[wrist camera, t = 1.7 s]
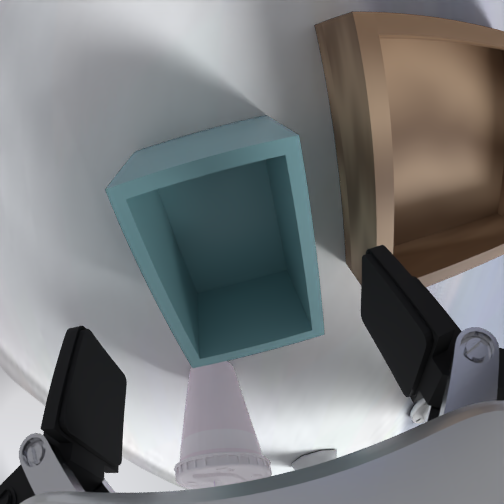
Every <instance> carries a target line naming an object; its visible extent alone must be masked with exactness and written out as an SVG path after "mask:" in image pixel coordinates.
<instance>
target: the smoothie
mask: <svg viewBox="0 0 504 504" xmlns="http://www.w3.org/2000/svg"><path fill="white" fill-rule="evenodd" d="M270 464H271V462H270V460H269V459H268V458H266V457H265V456H263V454H262V451H261V448H260V445H259V442H258V439H257V436H256V434H255V431H254V428H253V425H252V422H251V419H250V416H249V413H248V410H247V407H246V404H245V401H244V398H243V395H242V392H241V388H240V385H239V382H238V379H237V376H236V373H235V370H234V367H233V365H232V364H231V363H229V362H228V361H224V362H219V363H215V364H210V365H206V366H201V367H196V368H192V367H191V369H190V373H189V381H188V389H187V397H186V405H185V414H184V423H183V432H182V442H181V451H180V462H179V463H177V464H176V466H175V468H174V470H175V475H176V482H177V483H178V484H179V485H181V486H182V487H185V488H187V489H200V488H208V487H216V486H223V485H229V484H235V483H241V482H246V481H252V480H257V479H261V478H266V477H271V475H272V472H271V468H270Z"/></svg>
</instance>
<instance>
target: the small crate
mask: <svg viewBox="0 0 504 504" xmlns="http://www.w3.org/2000/svg"><path fill="white" fill-rule="evenodd" d="M105 190H106V193H107V195H108V198H109V200H110V203H111V205H112V208H113V210H114V212H115V215H116V217H117V219H118V222H119V224H120V226H121V229H122V231H123V233H124V236H125V238H126V240H127V242H128V245H129V247H130V249H131V251H132V253H133V256H134V258H135V260H136V262H137V264H138V266H139V268H140V270H141V272H142V275H143V277H144V279H145V281H146V283H147V285H148V287H149V289H150V291H151V293H152V295H153V297H154V299H155V301H156V303H157V305H158V307H159V309H160V310H161V312H162V314H163V316H164V318H165V320H166V322H167V324H168V326H169V327H170V329H171V331H172V333H173V335H174V337H175V338H176V340H177V342H178V344H179V346H180V347H181V349H182V351H183V353H184V354H185V356H186V358H187V360H188V361H189V363H190V365H191V367H192V368H196V367H201V366H206V365H210V364H215V363H219V362H224V361H228V360H232V359H237V358H241V357H245V356H249V355H253V354H257V353H261V352H265V351H268V350H272V349H276V348H280V347H283V346H287V345H290V344H294V343H297V342H301V341H304V340H308V339H311V338H314V337H318V336H321V335H324V322H323V311H322V301H321V291H320V281H319V272H318V263H317V254H316V246H315V238H314V230H313V223H312V215H311V208H310V201H309V194H308V187H307V181H306V174H305V168H304V162H303V156H302V150H301V144H300V138H299V135H298V134H296V133H295V132H293V131H292V130H290V129H288V128H287V127H285V126H283V125H282V124H280V123H279V122H277V121H275V120H274V119H272V118H270V117H268V116H267V115H265V116H260V117H256V118H251V119H247V120H243V121H238V122H234V123H230V124H226V125H222V126H218V127H215V128H211V129H207V130H203V131H200V132H196V133H193V134H189V135H186V136H182V137H179V138H176V139H172V140H169V141H166V142H163V143H160V144H157V145H154V146H150V147H147V148H144V149H142V150H139V151H136V152H134V154H133V155H132V156H131V157H130V159H129V160H128V161H127V162H126V163H125V165H124V166H123V167H122V168H121V170H120V171H119V172H118V174H117V175H116V176H115V177H114V179H113V180H112V181H111V183H110V184H109V185H108V187H107V188H106V189H105Z"/></svg>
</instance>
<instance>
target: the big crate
mask: <svg viewBox="0 0 504 504" xmlns="http://www.w3.org/2000/svg"><path fill="white" fill-rule="evenodd" d="M315 29H316V34H317V38H318V43H319V48H320V53H321V58H322V63H323V68H324V74H325V79H326V85H327V91H328V97H329V103H330V109H331V116H332V122H333V129H334V137H335V144H336V152H337V160H338V169H339V178H340V188H341V199H342V210H343V223H344V237H345V254H346V264H347V265H348V267H349V268H350V270H351V271H352V273H353V274H354V276H355V277H356V278H357V280H358V281H359V283H360V284H361V286H362V256H363V255H366V251H367V249H370V248H373V247H377V246H380V245H384V246H385V247H386V248H387V249H388V250H389V251H390V252H391V253H392V254H393V255H394V256H395V257H396V259H397V260H398V261H399V262H400V263H401V264H402V265H403V266H404V268H405V269H406V270H407V271H408V272H409V273H410V274H411V276H415V277H417V278H418V279H419V280H420V281H421V283H422V284H423V285H424V286H425V287H428V286H430V285H433V284H435V283H438V282H440V281H443V280H445V279H448V278H450V277H453V276H455V275H458V274H460V273H462V272H465V271H467V270H470V269H472V268H474V267H477V266H479V265H481V264H483V263H486V262H488V261H490V260H492V259H495V258H497V257H499V256H501V255H503V254H504V31H501V30H497V29H493V28H489V27H485V26H480V25H476V24H471V23H466V22H461V21H456V20H450V19H444V18H437V17H430V16H421V15H412V14H401V13H385V12H350V13H347V14H344V15H341V16H338V17H335V18H332V19H330V20H327V21H324V22H322V23H319V24H316V25H315Z"/></svg>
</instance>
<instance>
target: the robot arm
mask: <svg viewBox="0 0 504 504" xmlns="http://www.w3.org/2000/svg"><path fill="white" fill-rule="evenodd" d="M361 317H362V320H363V323H364V324H365V326H366V328H367V330H368V331H369V333H370V335H371V336H372V338H373V340H374V342H375V343H376V345H377V347H378V349H379V350H380V352H381V354H382V356H383V357H384V359H385V361H386V363H387V365H388V366H389V368H390V370H391V372H392V374H393V375H394V377H395V379H396V381H397V383H398V384H399V386H400V388H401V390H402V392H403V394H404V395H405V396H406V397H409V396H410V397H411V399H412V401H413V403H415V402H417V401H418V402H417V403H416V404H415V405H414V407H413V408H412V410H411V413H410V417H411V419H412V421H413V422H414V423H423V424H421V425H419V426H417V427H415V428H412V429H410V430H408V431H406V432H404V433H401V434H399V435H397V436H394V437H392V438H389V439H387V440H384V441H382V442H379V443H377V444H374V445H372V446H369V447H367V448H364V449H361V450H359V451H356V452H353V453H350V454H348V455H345V456H342V457H339V458H336V459H333V460H330V461H326V462H323V463H320V464H317V465H313V466H310V467H306V468H303V469H299V470H295V471H291V472H287V473H283V474H279V475H275V476H271V477H266V478H261V479H257V480H252V481H246V482H241V483H235V484H229V485H223V486H216V487H208V488H200V489H191V490H180V491H168V492H147V493H115V491H114V490H113V489H112V488H111V486H110V485H109V484H108V482H107V481H106V480H105V478H104V472H105V473H118V465H120V464H121V461H122V440H123V422H124V408H125V396H126V385H127V382H126V377H125V375H124V374H123V372H122V371H121V370H120V369H119V367H118V366H117V365H116V364H115V362H114V361H113V360H112V359H111V357H110V356H109V355H108V353H107V352H106V351H105V350H104V348H103V347H102V346H101V344H100V343H99V342H98V340H97V339H96V338H95V336H94V335H93V333H92V332H91V331H90V330H89V329H86V328H85V327H84V326H79V327H74V328H70V329H68V330H67V332H66V334H65V337H64V341H63V344H62V347H61V350H60V354H59V357H58V360H57V364H56V367H55V371H54V374H53V378H52V382H51V386H50V390H49V394H48V398H47V402H46V406H45V411H44V415H43V420H42V425H41V429H42V430H43V431H44V434H43V435H41V434H38V433H35V434H31V435H29V436H28V437H27V438H26V439H25V440H24V441H23V443H22V445H21V447H20V451H19V459H20V463H21V465H20V466H19V467H18V468H17V469H16V470H15V471H14V472H13V473H12V474H11V475H10V476H9V477H8V478H7V479H6V480H5V481H4V482H3V483H2V484H1V485H0V504H504V349H502V348H499V345H498V342H497V340H496V338H495V337H494V336H493V335H492V334H491V333H490V332H489V331H487V330H485V329H482V328H479V327H471V328H468V329H465V330H464V331H461V330H460V329H459V327H458V326H457V325H456V324H455V322H454V321H453V320H452V319H451V317H450V316H449V315H448V314H447V312H446V311H445V310H444V309H443V307H442V306H441V305H440V304H439V303H438V301H437V300H436V299H435V298H434V297H433V295H432V294H431V293H430V292H429V291H428V290H427V288H426V287H425V286H424V285H423V284H422V283H421V281H420V280H419V279H418V278H417V277H415V276H411V274H410V273H409V272H408V271H407V270H406V269H405V268H404V266H403V265H402V264H401V263H400V262H399V261H398V260H397V259H396V257H395V256H394V255H393V254H392V253H391V252H390V251H389V250H388V249H387V248H386V247H385V246H384V245H380V246H377V247H373V248H370V249H367V251H366V255H363V256H362V289H361ZM424 422H425V423H424Z"/></svg>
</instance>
